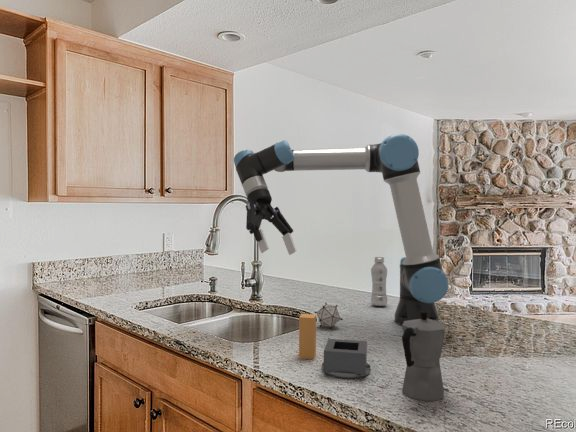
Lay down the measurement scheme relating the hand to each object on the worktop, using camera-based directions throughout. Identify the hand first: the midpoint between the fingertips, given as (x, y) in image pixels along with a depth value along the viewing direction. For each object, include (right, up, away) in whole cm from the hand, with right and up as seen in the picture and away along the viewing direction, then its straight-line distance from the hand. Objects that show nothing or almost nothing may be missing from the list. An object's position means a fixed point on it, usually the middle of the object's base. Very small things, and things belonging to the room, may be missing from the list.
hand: (279, 251), depth 135 cm
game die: (+16, -27, +14) cm, 34 cm away
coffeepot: (+31, -28, -39) cm, 57 cm away
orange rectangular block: (+8, -27, -14) cm, 32 cm away
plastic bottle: (+40, -26, +47) cm, 67 cm away
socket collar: (+17, -27, -24) cm, 40 cm away
